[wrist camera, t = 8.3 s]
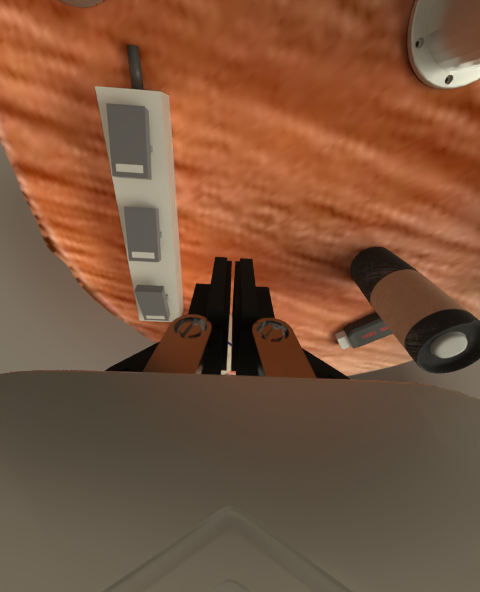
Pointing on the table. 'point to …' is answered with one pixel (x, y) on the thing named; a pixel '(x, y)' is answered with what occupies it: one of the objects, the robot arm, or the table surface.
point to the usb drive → (363, 332)
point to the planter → (82, 3)
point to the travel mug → (418, 312)
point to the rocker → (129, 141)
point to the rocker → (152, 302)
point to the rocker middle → (143, 234)
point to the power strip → (150, 186)
